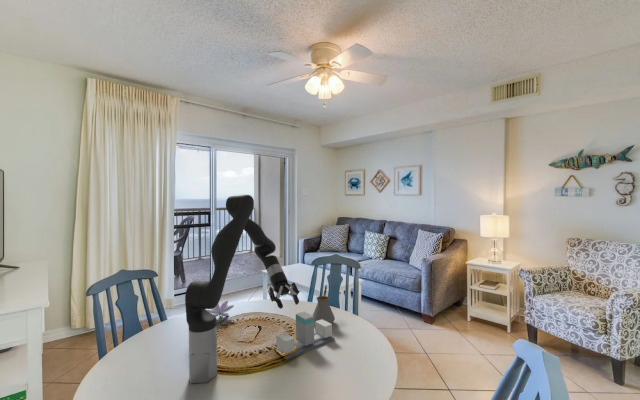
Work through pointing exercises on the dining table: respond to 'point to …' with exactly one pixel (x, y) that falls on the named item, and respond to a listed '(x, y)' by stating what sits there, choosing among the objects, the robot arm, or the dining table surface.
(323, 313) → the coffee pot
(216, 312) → the water lily
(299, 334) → the block
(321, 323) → the rail panel
